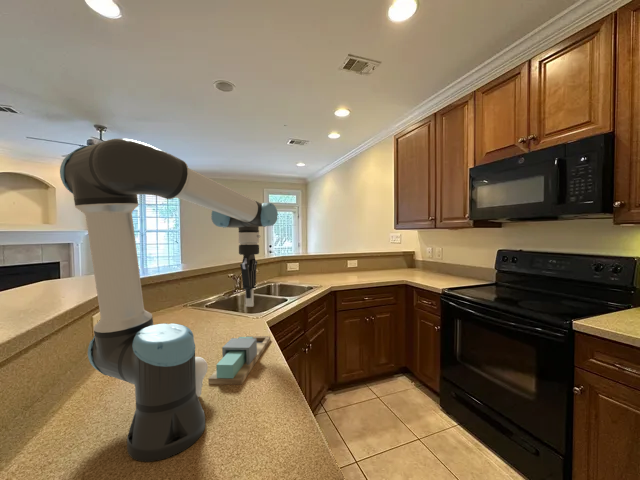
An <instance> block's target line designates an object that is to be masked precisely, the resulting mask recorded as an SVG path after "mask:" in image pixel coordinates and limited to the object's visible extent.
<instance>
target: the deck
mask: <svg viewBox="0 0 640 480" xmlns="http://www.w3.org/2000/svg"><path fill="white" fill-rule="evenodd" d="M245 337H253V338H257V355H256V356H255V358H254V359H253V361H252V362H251V364H250V365H247V360H246V362H245V363H244V365H243V366H242V367H241V369H240V370H239V371H238V373H237V374H236V375H235V377H234V378H217V370H215V371H213V373H212V374H211V375H210V376H209V377H208V385H239V386H241V385H242V384H243V383H244V382H245V380H246V378H247V377H248V375H249V374H250V373H251V371H252V370H253V368H254V366H255V365H256V363H257V362H258V360H259V359H260V357H261V356H262V354H263V352H264V351H265V350H266V348H267V346H268V344H269V343H270V341H271V340H272V339H271V336H269V335H268V336H266V335H265V336H264V335H262V336H261V335H260V336H259V335H258V336H257V335H251V336H250V335H247V336H245Z"/></svg>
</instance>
